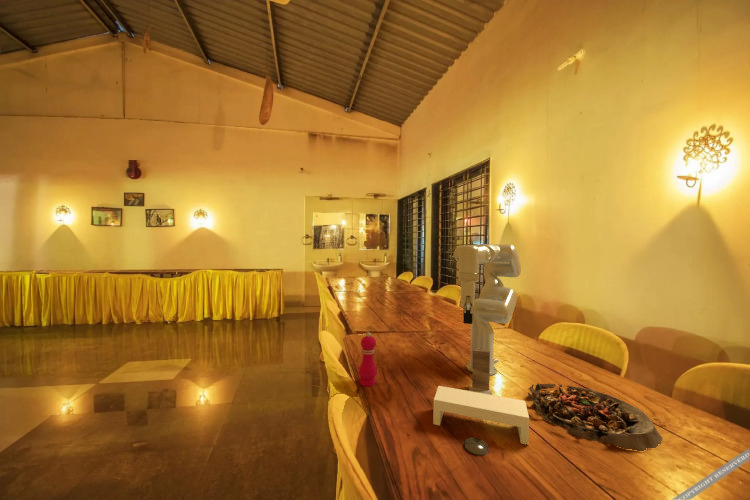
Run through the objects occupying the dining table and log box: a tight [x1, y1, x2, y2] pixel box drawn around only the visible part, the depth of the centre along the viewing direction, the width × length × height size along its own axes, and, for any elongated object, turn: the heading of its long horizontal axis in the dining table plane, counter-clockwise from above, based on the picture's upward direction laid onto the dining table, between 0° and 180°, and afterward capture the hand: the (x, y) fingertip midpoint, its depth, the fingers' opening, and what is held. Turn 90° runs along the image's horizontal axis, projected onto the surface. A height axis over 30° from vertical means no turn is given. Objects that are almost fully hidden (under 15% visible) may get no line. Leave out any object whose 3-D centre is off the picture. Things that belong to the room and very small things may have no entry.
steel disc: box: [464, 436, 489, 456], centre depth 81 cm, size 6×6×1 cm
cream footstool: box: [432, 385, 530, 446], centre depth 91 cm, size 10×26×8 cm, turn 70°
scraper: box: [468, 348, 493, 395], centre depth 107 cm, size 20×8×15 cm, turn 160°
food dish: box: [527, 383, 663, 451], centre depth 97 cm, size 35×33×8 cm
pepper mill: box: [358, 331, 378, 388], centre depth 118 cm, size 7×7×20 cm
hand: (467, 320), depth 118 cm, fingers open, 9 cm apart
